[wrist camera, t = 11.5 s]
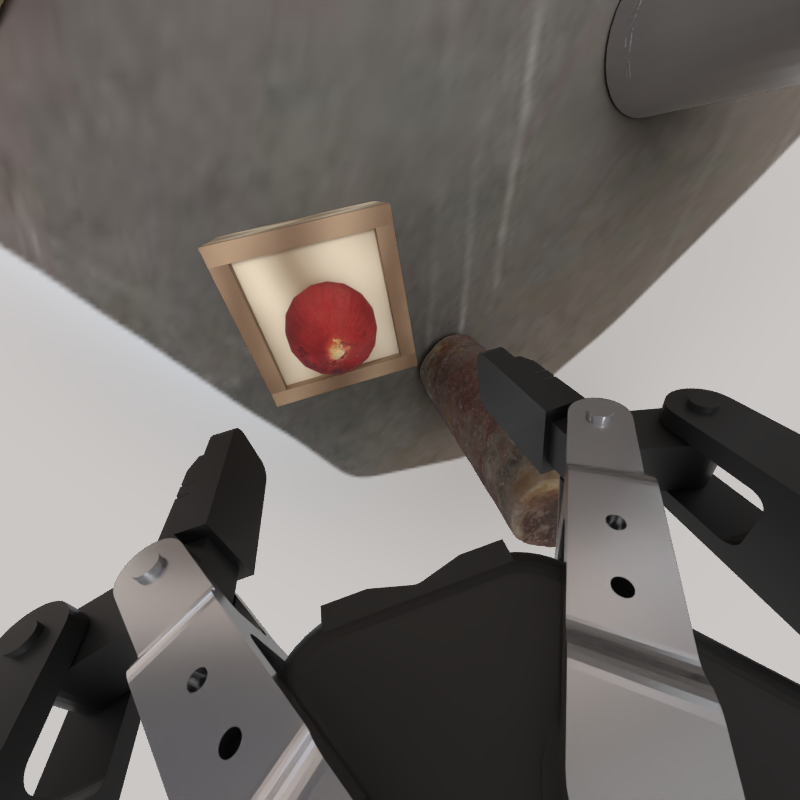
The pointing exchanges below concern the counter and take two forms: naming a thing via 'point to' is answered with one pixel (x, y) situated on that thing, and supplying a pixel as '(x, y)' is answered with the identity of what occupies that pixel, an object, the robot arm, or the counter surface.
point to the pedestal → (307, 265)
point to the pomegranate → (330, 328)
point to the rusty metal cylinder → (490, 442)
